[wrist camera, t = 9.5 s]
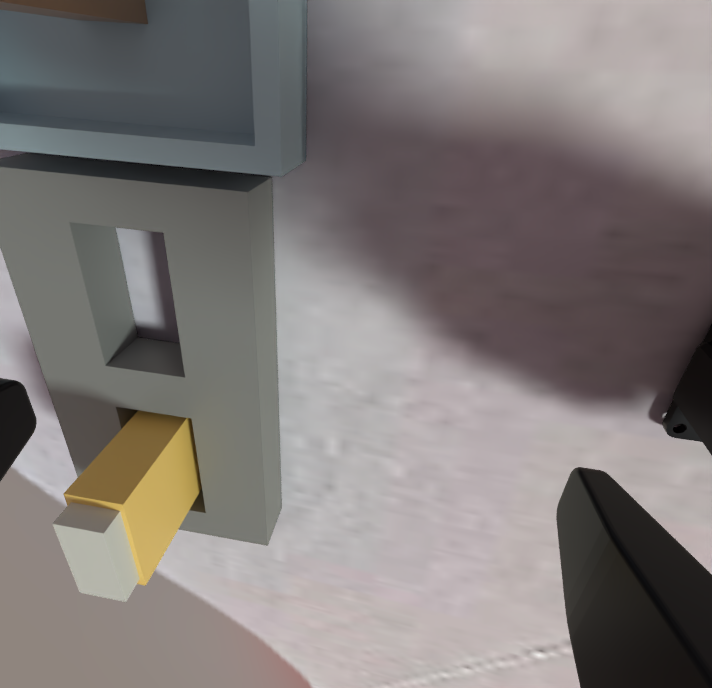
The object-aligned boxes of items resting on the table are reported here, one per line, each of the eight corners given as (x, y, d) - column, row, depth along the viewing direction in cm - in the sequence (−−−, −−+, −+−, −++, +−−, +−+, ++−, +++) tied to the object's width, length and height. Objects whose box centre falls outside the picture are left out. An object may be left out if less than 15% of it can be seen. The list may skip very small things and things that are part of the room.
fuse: (205, 393, 23) (106, 527, 17) (214, 466, 26) (132, 608, 19) (159, 387, 24) (44, 515, 17) (172, 459, 26) (77, 597, 19)
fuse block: (271, 177, 18) (247, 192, 15) (281, 507, 27) (267, 545, 25) (26, 153, 19) (-28, 164, 16) (117, 478, 28) (89, 513, 26)
